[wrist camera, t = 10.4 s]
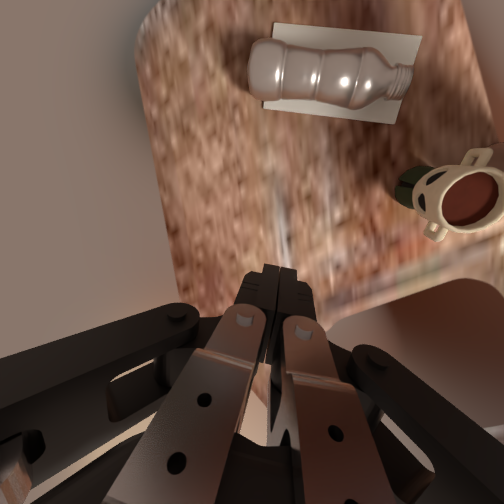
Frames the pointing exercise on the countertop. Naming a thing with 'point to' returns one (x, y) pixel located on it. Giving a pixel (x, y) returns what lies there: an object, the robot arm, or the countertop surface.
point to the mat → (388, 44)
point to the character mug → (455, 195)
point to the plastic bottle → (324, 74)
